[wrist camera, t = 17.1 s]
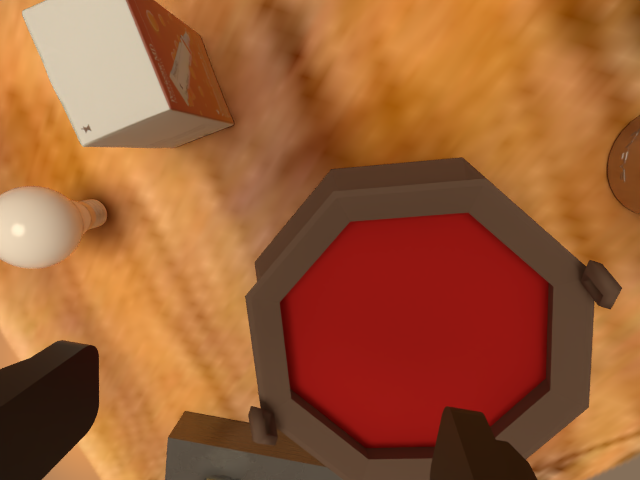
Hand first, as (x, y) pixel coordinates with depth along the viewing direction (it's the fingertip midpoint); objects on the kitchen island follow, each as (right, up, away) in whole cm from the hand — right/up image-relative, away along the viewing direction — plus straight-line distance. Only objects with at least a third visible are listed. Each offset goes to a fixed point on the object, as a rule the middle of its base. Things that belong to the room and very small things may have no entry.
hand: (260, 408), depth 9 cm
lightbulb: (-20, +7, +30) cm, 37 cm away
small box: (-10, +17, +27) cm, 33 cm away
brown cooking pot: (+8, 0, +29) cm, 30 cm away
